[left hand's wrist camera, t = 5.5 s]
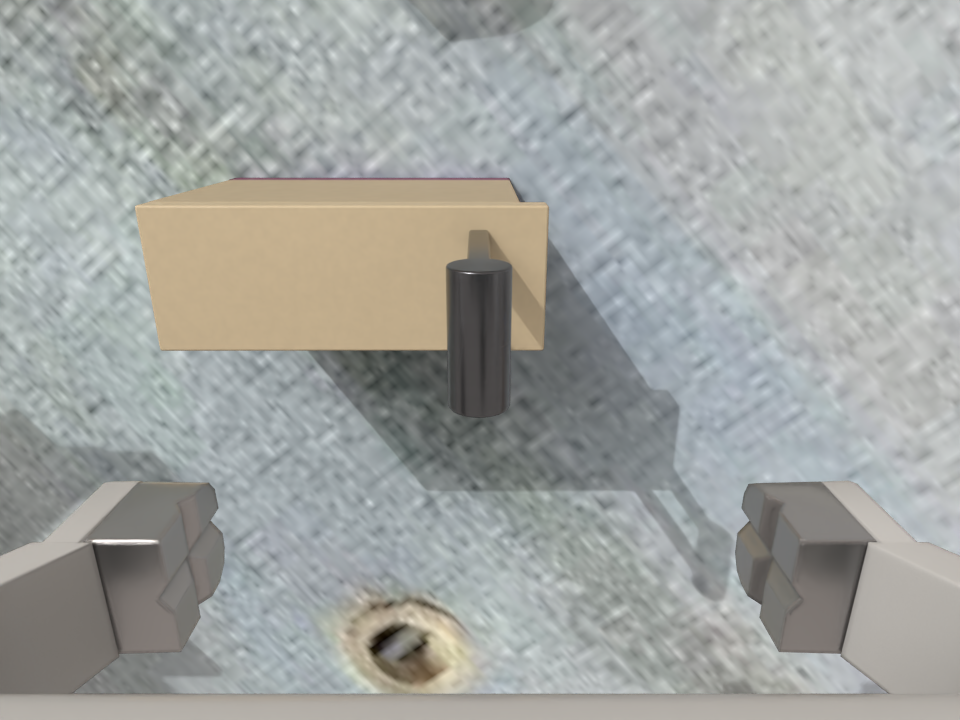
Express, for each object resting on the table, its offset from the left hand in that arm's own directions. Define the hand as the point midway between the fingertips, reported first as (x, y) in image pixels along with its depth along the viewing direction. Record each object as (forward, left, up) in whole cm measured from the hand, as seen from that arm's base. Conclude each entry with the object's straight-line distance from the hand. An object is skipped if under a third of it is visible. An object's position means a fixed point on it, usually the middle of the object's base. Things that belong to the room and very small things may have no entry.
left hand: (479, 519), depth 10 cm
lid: (+5, -2, -16) cm, 17 cm away
